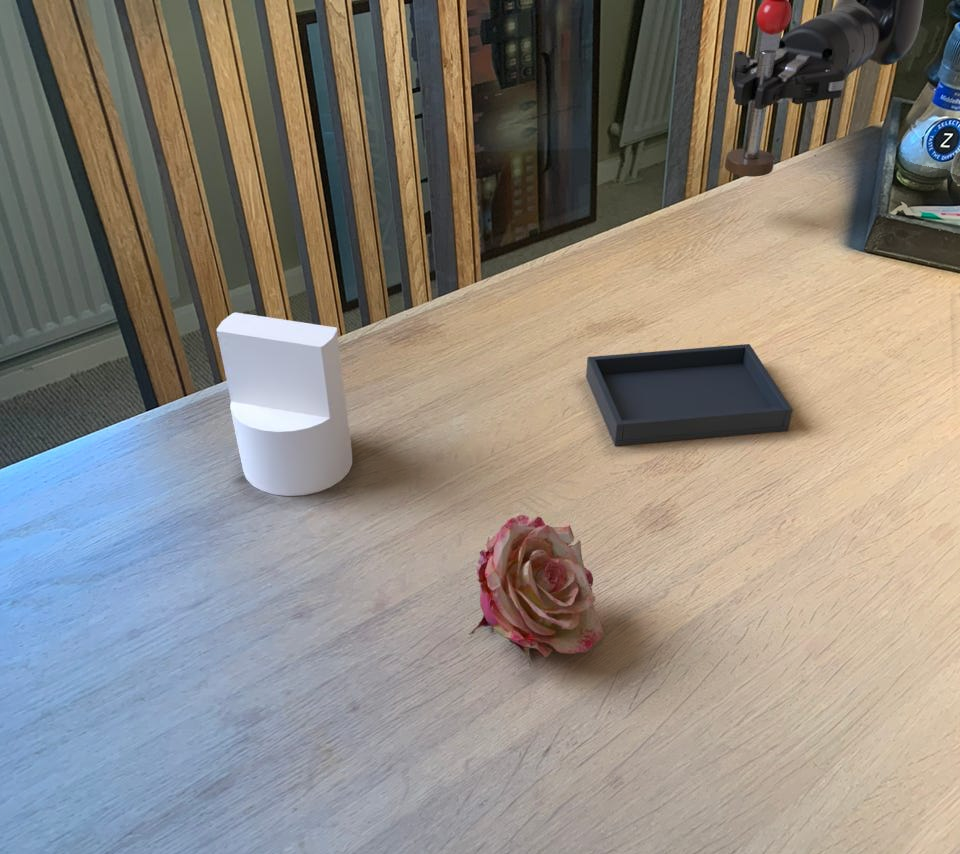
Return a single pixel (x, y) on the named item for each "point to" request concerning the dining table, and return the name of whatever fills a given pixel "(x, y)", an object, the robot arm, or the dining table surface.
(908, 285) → the dining table surface
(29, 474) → the dining table surface
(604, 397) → the tray
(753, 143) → the red ball topped stand
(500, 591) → the flower
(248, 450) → the base with upright slab
